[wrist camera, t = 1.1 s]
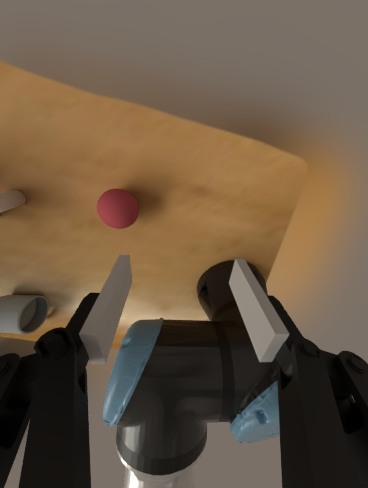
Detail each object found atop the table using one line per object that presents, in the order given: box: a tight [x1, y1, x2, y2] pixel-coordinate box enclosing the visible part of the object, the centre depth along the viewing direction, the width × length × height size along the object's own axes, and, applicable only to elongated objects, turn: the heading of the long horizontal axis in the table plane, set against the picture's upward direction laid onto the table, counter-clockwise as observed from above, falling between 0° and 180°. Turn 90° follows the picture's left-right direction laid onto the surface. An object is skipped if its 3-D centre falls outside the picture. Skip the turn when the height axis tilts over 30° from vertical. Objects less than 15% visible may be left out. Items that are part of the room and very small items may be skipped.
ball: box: [97, 189, 139, 229], centre depth 26 cm, size 6×6×6 cm
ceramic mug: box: [0, 295, 49, 334], centre depth 37 cm, size 11×8×8 cm
